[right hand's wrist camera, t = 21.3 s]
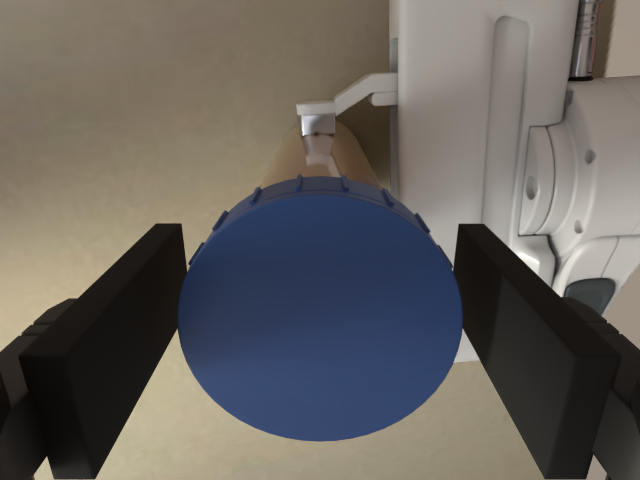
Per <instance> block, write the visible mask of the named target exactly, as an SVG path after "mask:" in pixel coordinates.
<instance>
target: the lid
mask: <svg viewBox="0 0 640 480" xmlns="http://www.w3.org/2000/svg"><path fill="white" fill-rule="evenodd" d="M212 230H213V231H212V233H211V234H210V236H209V237H208V239H207V240H206V242H205V243H203V242H202V243H201V245H200V246H199V248H198V249H197V251H196V252H195V254H194V255H193V257H192V258H191V260H190V261H189V264H188V265H190V267H189V270H188V272H187V274H186V276H185V279H184V281H183V284H182V288H181V292H180V296H179V302H178V311H177V322H178V333H179V338H180V344H181V348H182V351H183V353H184V356H185V359H186V362H187V364H188V366H189V367H190V369H191V371H192V373H193V375H194V377H195V378H196V380H197V381H198V382H199V384H200V385H201V387H202V388H203V389H204V390H205V391H206V393H207V394H208V395H209V396H210V397H211V398H212V399H213V400H214V401H215V402H216V403H217V404H219V405H220V406H221V407H222V408H223V409H224V410H226V411H227V412H228V413H230V414H231V415H233V416H234V417H236V418H237V419H239V420H241V421H243V422H245V423H246V424H248V425H250V426H252V427H254V428H257V429H259V430H262V431H265V432H267V433H270V434H273V435H277V436H281V437H285V438H290V439H296V440H303V441H337V440H344V439H351V438H355V437H359V436H363V435H367V434H370V433H373V432H376V431H379V430H381V429H384V428H386V427H388V426H390V425H392V424H394V423H396V422H398V421H400V420H401V419H403V418H404V417H406V416H408V415H409V414H411V413H412V412H413V411H415V410H416V409H417V408H418V407H420V406H421V405H422V404H423V403H424V402H425V401H426V400H427V399H428V398H429V397H430V396H431V395H432V394H433V393H434V392H435V391H436V390H437V388H438V387H439V386H440V384H441V383H442V382H443V380H444V379H445V377H446V376H447V374H448V372H449V370H450V368H451V367H452V365H453V362H454V360H455V357H456V355H457V352H458V349H459V345H460V341H461V336H462V329H463V307H462V298H461V294H460V290H459V286H458V283H457V280H456V278H455V275H454V273H453V271H452V268H453V265H452V263H451V261H450V260H449V258H448V257H447V255H446V254H445V252H444V251H443V249H442V248H441V247H440V245H437V244H436V243H435V241H434V239H433V238H432V236H431V235H430V232H431V231H430V230H429V228H428V227H427V225H426V224H425V222H424V221H423V219H422V218H421V216H420V215H419V214H418V213H416V214H413V213H412V212H411V211H410V210H409V209H408V208H407V207H406V206H405V205H404V204H402V203H401V202H399V201H398V200H396V199H395V198H394V197H392V196H391V195H390V194H389V192H388V190H387V189H385V188H383V190H382V191H381V190H379V189H377V188H375V187H373V186H370V185H367V184H364V183H362V182H359V181H355V180H350V179H347V177H346V175H342V176H341V178H340V177H328V176H313V177H302V174H300V175H297V178H296V179H290V180H285V181H282V182H279V183H276V184H273V185H270V186H268V187H265V188H263V189H261V188H260V187H258V188H256V189H255V191H254V193H253V194H252V195H250V196H248V197H247V198H245V199H244V200H242V201H241V202H239V203H238V204H237V205H236V206H235V207H234V208H232V209H231V210H230V211H229V212H227V211H226V210H225V211H224V212H223V213H222V215H221V216H220V218H219V219H218V221H217V222H216V224H215V225H214V227H213V228H212Z"/></svg>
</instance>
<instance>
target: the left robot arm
mask: <svg viewBox="0 0 640 480" xmlns="http://www.w3.org/2000/svg"><path fill="white" fill-rule="evenodd" d="M601 2H602V0H389V48H390V72H386V73H372V74H366V75H364V76H363V77H361V78H360V79H358V80H357V81H356V82H354V83H353V84H351V85H350V86H348V87H347V88H345V89H344V90H343V91H341V92H340V93H338V94H337V95H335V96H334V97H333V99H332V100H317V101H304V102H297V104H296V107H297V120H298V131H299V135H300V136H308V135H313V134H315V133H316V132H318V133H320V134H326V135H327V134H335V116H337V115H339V114H340V113H342V112H343V111H345V110H346V109H348V108H349V107H351V106H352V105H354V104H355V103H357V102H358V101H360V100H361V99H363V98H364V97H366V96H367V95H368V101H369V102H370V103H371V104H373V105H374V106H387V105H390V195H391V196H392V197H394V198H395V199H396V200H398V201H399V202H401V203H402V204H404V205H405V206H406V207H407V208H408V209H409V210H410V211H411V212H412V213H413V214H416V213H418V214H419V215H420V216H421V218H422V219H423V221H424V222H425V224H426V225H427V227H428V228H429V230H430V231H431V232H430V235H431V236H432V238H433V239H434V241H435V243H436V244H437V245H440V247H441V248H442V249H443V251H444V252H445V254H446V255H447V257H448V258H449V260H450V261H451V263H452V265H453V266H454V258H455V249H456V241H457V233H458V224H485V225H486V226H487V227H488V228H489V229H490V230H491V231H492V232H493V233H494V234H495V235H496V236H497V237H498V238H499V239H501V240H502V241H503V242H504V243H505V244H506V245H507V246H508V247H509V248H510V249H511V250H512V251H513V252H514V253H515V254H516V255H517V256H518V257H519V258H520V259H521V260H522V261H524V262H525V263H526V264H527V265H528V266H529V267H530V268H531V269H532V270H533V271H534V272H535V273H536V274H537V275H538V276H539V277H540V278H541V279H542V280H543V281H544V282H545V283H547V284H548V285H549V286H550V287H551V288H552V289H553V290H554V291H555V292H556V293H557V294H558V295H559V296H560V297H572V298H574V299H576V300H578V301H580V302H582V303H584V304H586V305H588V306H590V307H592V308H593V309H594V310H595V311H596V312H598V313H599V314H600V315H601V316H602V317H603V318H604V317H605V315H606V313H607V311H608V310H609V308H610V306H611V305H612V303H613V301H614V300H615V298H616V296H617V295H618V293H619V292H620V290H621V289H622V287H623V286H624V284H625V283H626V282H627V280H628V279H629V277H630V276H631V275H632V274H633V272H634V271H635V270H636V268H637V267H638V266H639V265H640V76H627V77H611V78H592V71H593V65H594V58H595V51H596V44H597V35H596V34H597V28H596V27H597V23H598V22H597V20H598V15H597V14H598V13H599V7H600V3H601ZM452 271H453V268H452ZM477 360H480V359H479V357H478V356H477V354H476V352H475V350H474V348H473V346H472V345H471V343H470V341H469V339H468V337H467V335H466V334H465V332H464V330H463V329H462V336H461V341H460V345H459V349H458V352H457V355H456V357H455V360H454V362H453V363H456V362H468V361H477Z"/></svg>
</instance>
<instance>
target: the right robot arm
mask: <svg viewBox="0 0 640 480" xmlns="http://www.w3.org/2000/svg"><path fill="white" fill-rule="evenodd" d="M453 273H454V275H455V278H456V280H457V283H458V286H459V290H460V294H461V298H462V307H463V330H464V332H465V334H466V335H467V337H468V339H469V341H470V343H471V345H472V346H473V348H474V350H475V352H476V354H477V356H478V357H479V359H480V361H481V363H482V365H483V367H484V368H485V370H486V372H487V374H488V376H489V378H490V379H491V381H492V383H493V385H494V387H495V389H496V390H497V392H498V394H499V396H500V398H501V400H502V401H503V403H504V405H505V407H506V409H507V411H508V412H509V414H510V416H511V418H512V420H513V422H514V423H515V425H516V427H517V429H518V431H519V433H520V434H521V436H522V438H523V440H524V442H525V444H526V445H527V447H528V449H529V451H530V453H531V455H532V456H533V458H534V460H535V462H536V464H537V466H538V467H539V469H540V471H541V473H542V475H543V477H544V478H545V479H586V477H587V474H588V470H589V467H590V464H591V461H592V457H593V454H594V455H595V457H596V458H597V460H598V461H599V463H600V464H601V465H602V467H603V468H604V470H605V471H606V473H607V475H606V478H605V480H640V350H639V349H638V348H637V347H636V346H635V345H634V344H633V343H631V342H630V341H629V340H628V339H627V338H626V337H625V336H623V335H622V334H619V331H618V330H617V329H616V328H615V327H613V326H612V325H611V324H610V323H607V320H605V319H604V318H603V317H602V316H601V315H600V314H599V313H598V312H596V311H595V310H594V309H593V308H592V307H590V306H588V305H586V304H584V303H582V302H580V301H578V300H576V299H574V298H572V297H560V296H559V295H558V294H557V293H556V292H555V291H554V290H553V289H552V288H551V287H550V286H549V285H548V284H547V283H545V282H544V281H543V280H542V279H541V278H540V277H539V276H538V275H537V274H536V273H535V272H534V271H533V270H532V269H531V268H530V267H529V266H528V265H527V264H526V263H525V262H524V261H522V260H521V259H520V258H519V257H518V256H517V255H516V254H515V253H514V252H513V251H512V250H511V249H510V248H509V247H508V246H507V245H506V244H505V243H504V242H503V241H502V240H501V239H499V238H498V237H497V236H496V235H495V234H494V233H493V232H492V231H491V230H490V229H489V228H488V227H487V226H486V225H485V224H458V233H457V241H456V249H455V258H454V266H453ZM186 274H187V266H186V258H185V249H184V241H183V233H182V224H155V225H154V226H153V227H152V228H151V229H150V230H149V231H148V232H147V233H146V234H145V235H144V236H143V237H142V238H141V239H139V240H138V241H137V242H136V243H135V244H134V245H133V246H132V247H131V248H130V249H129V250H128V251H127V252H126V253H125V254H124V255H123V256H122V257H121V258H120V259H119V260H118V261H116V262H115V263H114V264H113V265H112V266H111V267H110V268H109V269H108V270H107V271H106V272H105V273H104V274H103V275H102V276H101V277H100V278H99V279H98V280H97V281H96V282H95V283H93V284H92V285H91V286H90V287H89V288H88V289H87V290H86V291H85V292H84V293H83V294H82V295H81V296H80V297H79V298H78V299H67V300H65V301H63V302H61V303H59V304H58V305H56V306H54V307H52V308H50V309H48V310H47V311H46V312H45V313H44V314H42V315H41V316H40V317H39V318H38V319H37V320H36V321H35V322H34V324H33V325H30V326H29V327H28V328H27V329H26V330H24V331H23V332H22V335H21V336H18V337H17V338H15V339H14V340H13V341H12V342H11V343H10V344H9V345H8V346H7V347H5V348H4V349H3V350H2V351H1V352H0V480H35V478H34V474H35V472H36V471H37V469H38V468H39V467H40V465H41V464H42V462H43V461H44V459H45V458H46V457H48V461H49V464H50V467H51V471H52V474H53V478H54V479H95V478H96V477H97V475H98V473H99V471H100V469H101V467H102V466H103V464H104V462H105V460H106V458H107V456H108V455H109V453H110V451H111V449H112V447H113V445H114V444H115V442H116V440H117V438H118V436H119V434H120V433H121V431H122V429H123V427H124V425H125V423H126V422H127V420H128V418H129V416H130V414H131V412H132V411H133V409H134V407H135V405H136V403H137V401H138V400H139V398H140V396H141V394H142V392H143V390H144V389H145V387H146V385H147V383H148V381H149V379H150V378H151V376H152V374H153V372H154V370H155V368H156V367H157V365H158V363H159V361H160V359H161V357H162V356H163V354H164V352H165V350H166V348H167V346H168V345H169V343H170V341H171V339H172V337H173V335H174V334H175V332H176V330H177V328H178V322H177V311H178V302H179V296H180V292H181V288H182V284H183V281H184V279H185V276H186Z"/></svg>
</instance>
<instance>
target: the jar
mask: <svg viewBox="0 0 640 480" xmlns="http://www.w3.org/2000/svg"><path fill="white" fill-rule="evenodd" d="M300 174H302V177H313V176H328V177H340V178H341V176H342V175H346V177H347V179H350V180H355V181H359V182H362V183H364V184H367V185H370V186H373V187H375V188H377V189H379V190H381V191H382V190H383V189H382V187H381V185H380V183H379V181H378V179H377V178H376V176H375V174H374V172H373V170H372V168H371V166H370V164H369V162H368V160H367V158H366V156H365V154H364V152H363V150H362V148H361V146H360V144H359V142H358V140H357V138H356V137H355V135H354V134H353V133H352V132H351V130H349V129H348V128H347V127H346V126H345V125H343V124H342V123H340V122H338V121H335V134H327V135H326V134H320V133H318V132H316V133H315V134H313V135H308V136H300V135H299V131H298V124H297V125H296V126H294V127H293V128H292V129H291V130H290V131H289V132H288V133H287V135H286V136H285V138H284V139H283V141H282V143H281V145H280V147H279V149H278V151H277V153H276V155H275V157H274V159H273V161H272V163H271V165H270V166H269V168H268V170H267V172H266V174H265V176H264V178H263V180H262V182H261V184H260V186H259V187H260V188H261V189H263V188H265V187H268V186H270V185H273V184H276V183H279V182H282V181H285V180H290V179H296V178H297V175H300Z"/></svg>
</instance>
